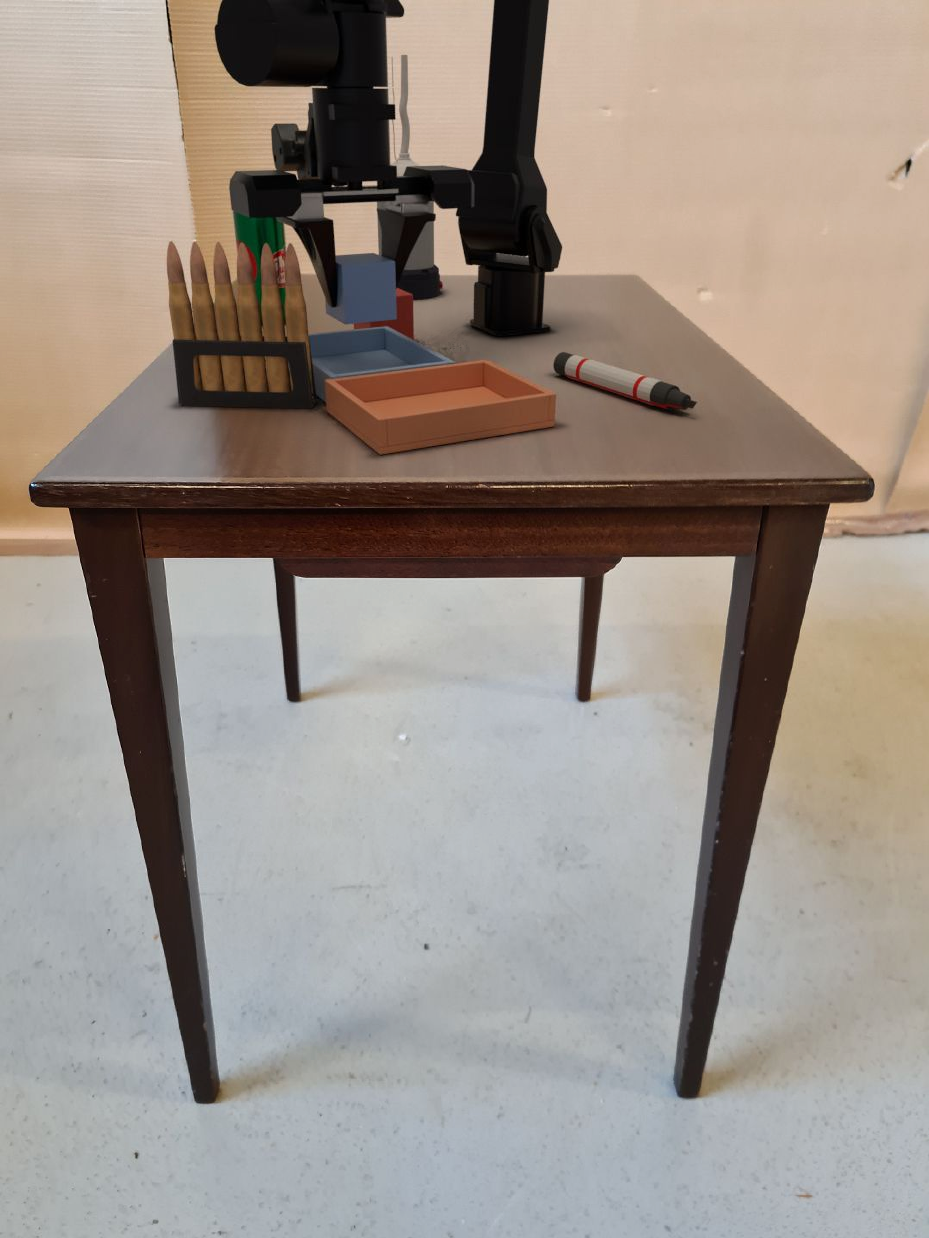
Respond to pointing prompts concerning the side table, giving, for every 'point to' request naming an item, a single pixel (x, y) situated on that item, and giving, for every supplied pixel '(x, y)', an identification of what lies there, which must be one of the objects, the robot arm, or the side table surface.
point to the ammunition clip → (217, 357)
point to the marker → (622, 382)
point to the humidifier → (420, 265)
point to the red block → (404, 316)
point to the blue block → (364, 289)
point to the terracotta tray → (438, 405)
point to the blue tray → (366, 354)
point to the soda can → (254, 238)
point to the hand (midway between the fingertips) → (360, 304)
